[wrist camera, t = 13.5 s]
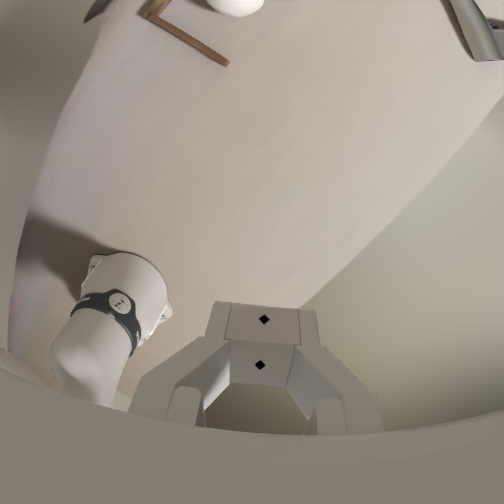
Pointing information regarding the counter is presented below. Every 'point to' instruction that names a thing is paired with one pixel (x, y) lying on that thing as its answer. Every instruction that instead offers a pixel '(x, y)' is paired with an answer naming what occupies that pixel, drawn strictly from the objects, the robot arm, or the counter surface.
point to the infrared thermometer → (479, 31)
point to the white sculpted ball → (236, 6)
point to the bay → (157, 9)
